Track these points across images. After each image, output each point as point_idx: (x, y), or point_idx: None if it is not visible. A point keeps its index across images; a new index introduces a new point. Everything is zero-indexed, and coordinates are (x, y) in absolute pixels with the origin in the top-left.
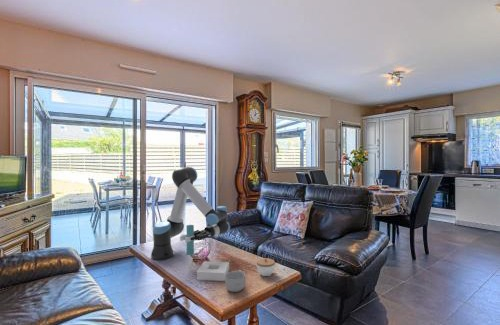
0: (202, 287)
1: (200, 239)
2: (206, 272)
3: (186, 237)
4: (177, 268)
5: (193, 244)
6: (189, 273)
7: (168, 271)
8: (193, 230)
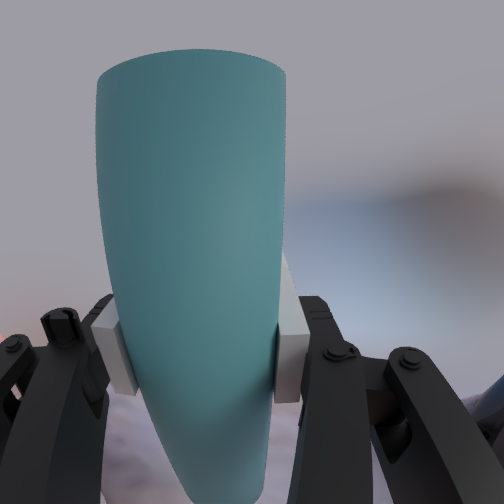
0: None
1: (16, 411)
2: (18, 398)
3: None
4: (288, 460)
5: (161, 442)
6: (159, 456)
7: (287, 413)
8: (100, 212)
